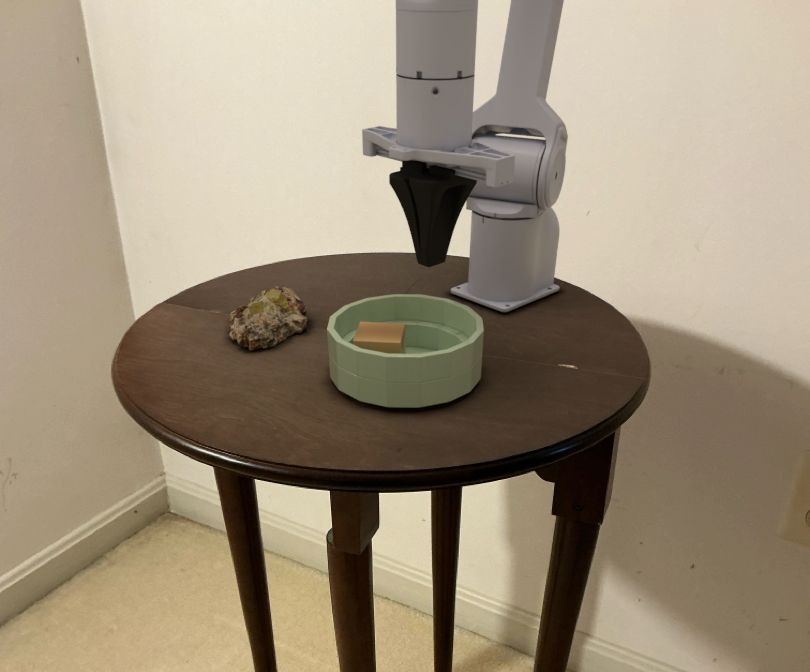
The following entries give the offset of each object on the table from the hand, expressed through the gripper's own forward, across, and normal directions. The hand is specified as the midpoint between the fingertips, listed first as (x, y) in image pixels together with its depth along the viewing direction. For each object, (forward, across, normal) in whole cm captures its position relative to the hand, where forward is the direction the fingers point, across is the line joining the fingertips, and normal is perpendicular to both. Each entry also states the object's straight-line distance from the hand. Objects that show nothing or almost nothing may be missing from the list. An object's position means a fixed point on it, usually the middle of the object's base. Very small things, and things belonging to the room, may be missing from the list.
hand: (431, 262), depth 64 cm
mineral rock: (+10, -17, -6) cm, 20 cm away
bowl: (+9, 0, -3) cm, 10 cm away
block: (+9, -1, -5) cm, 10 cm away
